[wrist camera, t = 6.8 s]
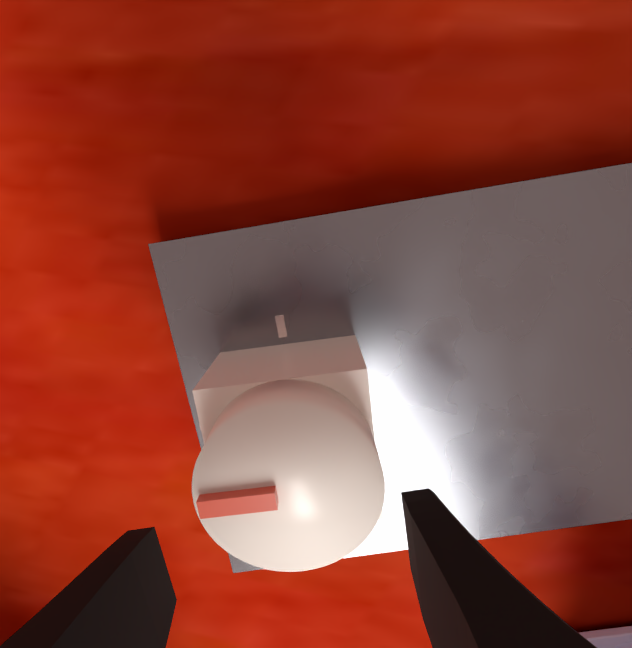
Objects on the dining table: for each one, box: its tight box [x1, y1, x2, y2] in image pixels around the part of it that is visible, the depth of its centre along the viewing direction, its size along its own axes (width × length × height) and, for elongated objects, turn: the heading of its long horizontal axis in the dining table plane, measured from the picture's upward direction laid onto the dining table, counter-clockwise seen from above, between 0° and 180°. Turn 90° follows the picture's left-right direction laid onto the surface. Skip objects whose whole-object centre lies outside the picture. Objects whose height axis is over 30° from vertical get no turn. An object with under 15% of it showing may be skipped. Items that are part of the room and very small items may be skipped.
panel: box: [148, 163, 632, 573], centre depth 14 cm, size 14×18×4 cm
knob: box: [192, 335, 385, 572], centre depth 13 cm, size 5×5×5 cm
